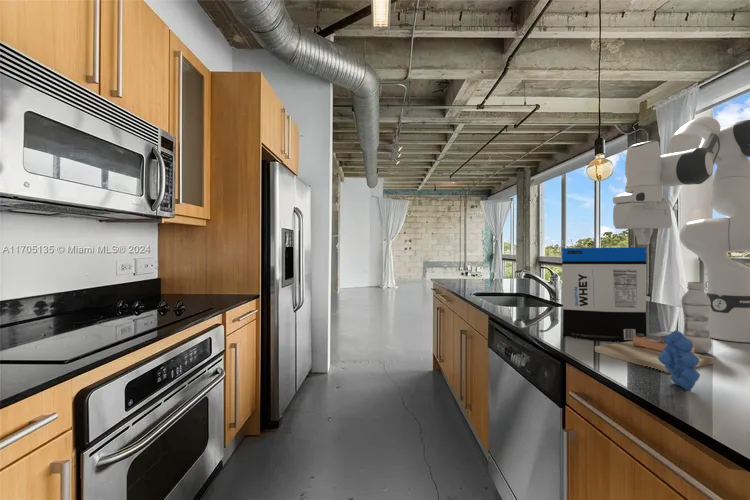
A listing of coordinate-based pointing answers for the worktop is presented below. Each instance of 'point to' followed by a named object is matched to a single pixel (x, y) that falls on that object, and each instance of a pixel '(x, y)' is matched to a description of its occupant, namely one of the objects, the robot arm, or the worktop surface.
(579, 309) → the protein powder
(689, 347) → the grapes
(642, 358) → the board
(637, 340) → the link
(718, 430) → the worktop surface
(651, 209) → the robot arm
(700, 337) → the plastic bottle
